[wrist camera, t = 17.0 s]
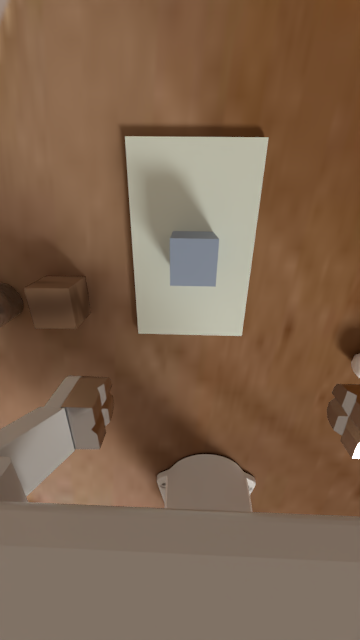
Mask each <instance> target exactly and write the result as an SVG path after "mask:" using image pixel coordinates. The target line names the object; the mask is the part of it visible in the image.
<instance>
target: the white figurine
mask: <svg viewBox="0 0 360 640" xmlns="http://www.w3.org/2000/svg"><path fill="white" fill-rule="evenodd" d="M351 367H352V369H353V372H354V373H355V374H356V375H357V376H358V377H359V378H360V353H359V354H356V355H354V358H353V360H352V362H351Z"/></svg>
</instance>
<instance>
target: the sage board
mask: <svg viewBox="0 0 360 640" xmlns="http://www.w3.org/2000/svg"><path fill="white" fill-rule="evenodd" d="M267 145H268V137H155V136H125V146H126V160H127V175H128V190H129V204H130V219H131V234H132V248H133V263H134V278H135V292H136V307H137V322H138V333H139V334H181V335H223V336H242V330H243V322H244V315H245V308H246V300H247V293H248V285H249V278H250V271H251V263H252V256H253V248H254V241H255V234H256V226H257V219H258V211H259V204H260V197H261V189H262V182H263V174H264V167H265V160H266V152H267ZM173 231H200V232H214V233H215V234H216V236H217V237H218V238H219V249H218V262H217V276H216V287H210V286H170V237H171V235H172V232H173Z"/></svg>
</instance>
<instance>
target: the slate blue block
mask: <svg viewBox="0 0 360 640" xmlns="http://www.w3.org/2000/svg"><path fill="white" fill-rule="evenodd" d="M218 249H219V238H218V237H217V236H216V234H215V233H214V232H200V231H173V232H172V235H171V237H170V286H210V287H216V276H217V262H218Z"/></svg>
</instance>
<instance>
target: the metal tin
mask: <svg viewBox="0 0 360 640" xmlns="http://www.w3.org/2000/svg"><path fill="white" fill-rule="evenodd" d="M22 310H23V300H22V298H21V296H20V294H19V293H18V292H17V291H16V290H15V289H14V288H13V287H11V286H10V285H8V284H5V283H0V327H1V326H3V325H4V324H6V323H7V322H9V321H10V320H12V319H13V318H15V317H16V316H18V315H19V314H20V313H21V312H22Z"/></svg>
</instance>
